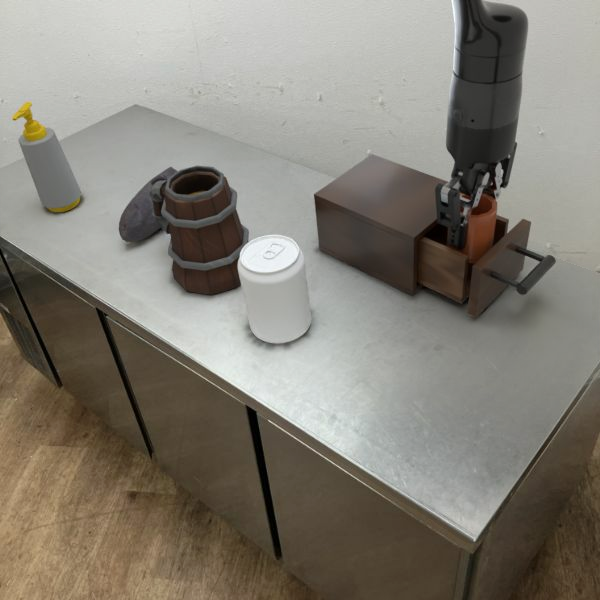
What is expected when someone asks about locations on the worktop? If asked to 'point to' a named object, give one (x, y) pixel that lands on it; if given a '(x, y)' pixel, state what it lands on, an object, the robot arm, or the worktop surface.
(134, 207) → the perforated stone tool
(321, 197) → the cabinet
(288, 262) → the beverage can
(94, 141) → the worktop surface
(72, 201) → the soap bottle
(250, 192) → the worktop surface
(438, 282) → the drawer
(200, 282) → the mug
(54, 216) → the worktop surface
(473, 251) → the cup
